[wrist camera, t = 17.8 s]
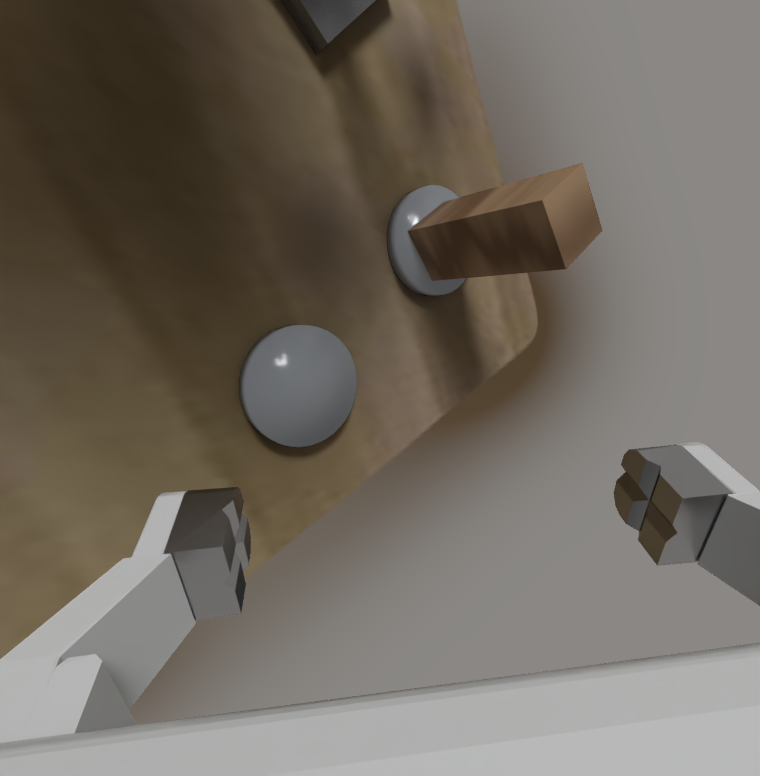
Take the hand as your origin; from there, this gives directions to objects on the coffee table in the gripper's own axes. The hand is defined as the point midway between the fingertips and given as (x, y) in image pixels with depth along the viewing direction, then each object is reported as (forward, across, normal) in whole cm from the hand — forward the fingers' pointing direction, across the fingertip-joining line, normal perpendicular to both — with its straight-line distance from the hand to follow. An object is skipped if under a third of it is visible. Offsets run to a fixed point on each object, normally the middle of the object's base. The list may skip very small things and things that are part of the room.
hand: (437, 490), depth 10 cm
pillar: (+30, +7, -2) cm, 31 cm away
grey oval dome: (+22, -5, -10) cm, 25 cm away
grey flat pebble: (+32, +6, -2) cm, 32 cm away
